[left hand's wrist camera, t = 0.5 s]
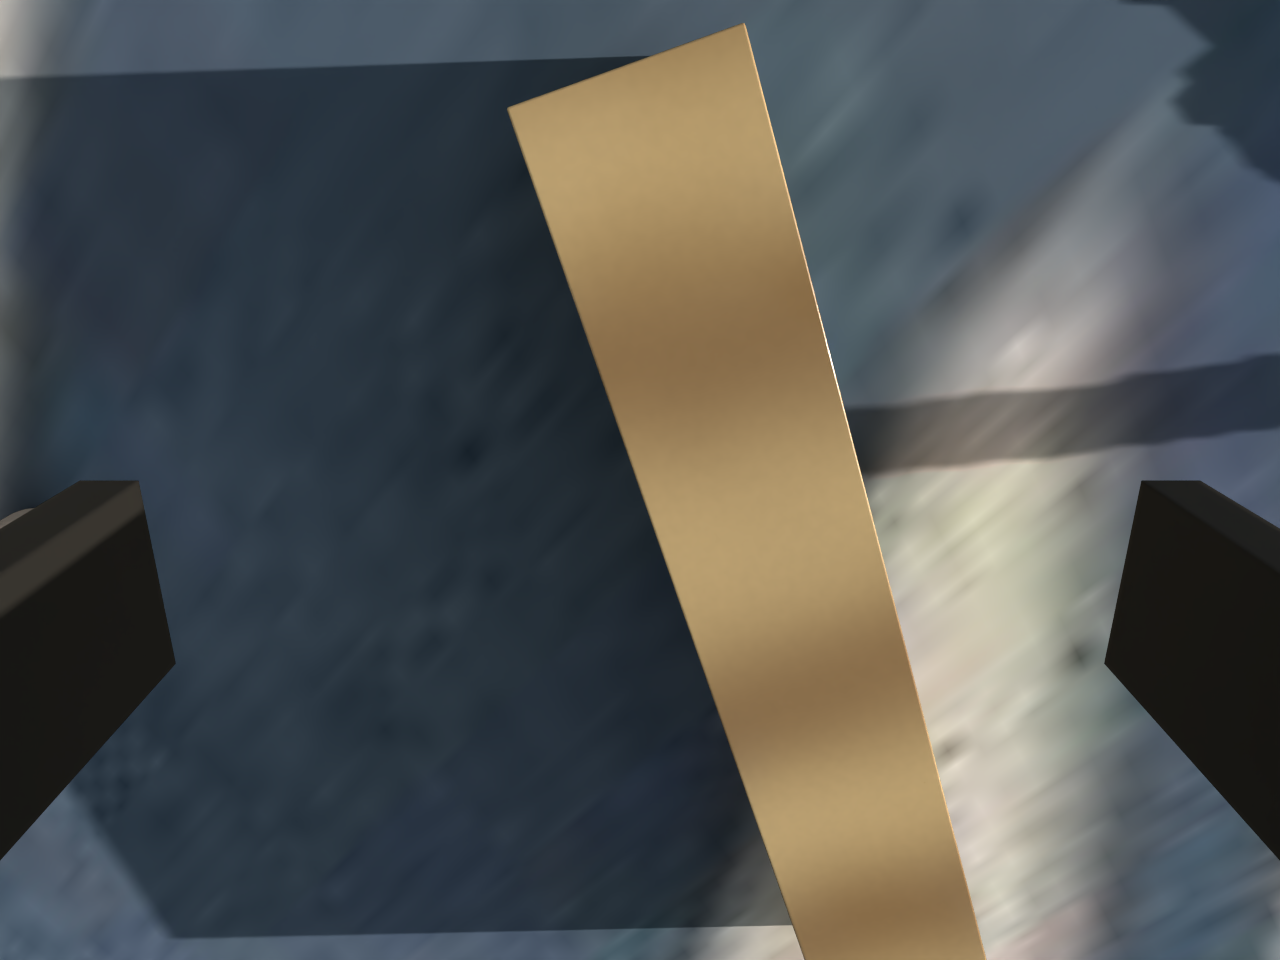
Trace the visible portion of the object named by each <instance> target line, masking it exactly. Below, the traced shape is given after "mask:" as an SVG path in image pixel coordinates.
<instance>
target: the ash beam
mask: <svg viewBox="0 0 1280 960" xmlns="http://www.w3.org/2000/svg"><path fill="white" fill-rule="evenodd" d="M507 111H508V114H509V117H510V119H511V122H512V125H513V128H514V131H515V134H516V137H517V139H518V142H519V145H520V148H521V151H522V154H523V157H524V159H525V162H526V165H527V168H528V171H529V174H530V177H531V179H532V182H533V185H534V188H535V191H536V194H537V197H538V199H539V202H540V205H541V208H542V211H543V214H544V217H545V219H546V222H547V225H548V228H549V231H550V234H551V237H552V239H553V242H554V245H555V248H556V251H557V254H558V257H559V259H560V262H561V265H562V268H563V271H564V274H565V277H566V279H567V282H568V285H569V288H570V291H571V294H572V297H573V299H574V302H575V305H576V308H577V311H578V314H579V317H580V319H581V322H582V325H583V328H584V331H585V334H586V337H587V339H588V342H589V345H590V348H591V351H592V354H593V357H594V359H595V362H596V365H597V368H598V371H599V374H600V377H601V379H602V382H603V385H604V388H605V391H606V394H607V397H608V399H609V402H610V405H611V408H612V411H613V414H614V417H615V419H616V422H617V425H618V428H619V431H620V434H621V437H622V439H623V442H624V445H625V448H626V451H627V454H628V457H629V459H630V462H631V465H632V468H633V471H634V474H635V477H636V479H637V482H638V485H639V488H640V491H641V494H642V497H643V499H644V502H645V505H646V508H647V511H648V514H649V517H650V519H651V522H652V525H653V528H654V531H655V534H656V537H657V539H658V542H659V545H660V548H661V551H662V554H663V557H664V559H665V562H666V565H667V568H668V571H669V574H670V577H671V579H672V582H673V585H674V588H675V591H676V594H677V597H678V599H679V602H680V605H681V608H682V611H683V614H684V617H685V619H686V622H687V625H688V628H689V631H690V634H691V637H692V639H693V642H694V645H695V648H696V651H697V654H698V657H699V659H700V662H701V665H702V668H703V671H704V674H705V677H706V679H707V682H708V685H709V688H710V691H711V694H712V697H713V699H714V702H715V705H716V708H717V711H718V714H719V717H720V719H721V722H722V725H723V728H724V731H725V734H726V737H727V739H728V742H729V745H730V748H731V751H732V754H733V757H734V759H735V762H736V765H737V768H738V771H739V774H740V777H741V779H742V782H743V785H744V788H745V791H746V794H747V797H748V799H749V802H750V805H751V808H752V811H753V814H754V817H755V819H756V822H757V825H758V828H759V831H760V834H761V837H762V839H763V842H764V845H765V848H766V851H767V854H768V857H769V859H770V862H771V865H772V868H773V871H774V874H775V877H776V879H777V882H778V885H779V888H780V891H781V894H782V897H783V899H784V902H785V905H786V908H787V911H788V914H789V917H790V919H791V922H792V925H793V928H794V931H795V934H796V937H797V939H798V942H799V945H800V948H801V951H802V954H803V957H804V959H805V960H986V956H985V952H984V948H983V944H982V940H981V936H980V933H979V929H978V925H977V921H976V917H975V913H974V909H973V905H972V902H971V898H970V894H969V890H968V886H967V882H966V878H965V874H964V871H963V867H962V863H961V859H960V855H959V851H958V847H957V843H956V840H955V836H954V832H953V828H952V824H951V820H950V816H949V812H948V809H947V805H946V801H945V797H944V793H943V789H942V785H941V781H940V778H939V774H938V770H937V766H936V762H935V758H934V754H933V750H932V747H931V743H930V739H929V735H928V731H927V727H926V723H925V719H924V716H923V712H922V708H921V704H920V700H919V696H918V692H917V688H916V685H915V681H914V677H913V673H912V669H911V665H910V661H909V657H908V654H907V650H906V646H905V642H904V638H903V634H902V630H901V626H900V622H899V619H898V615H897V611H896V607H895V603H894V599H893V595H892V591H891V588H890V584H889V580H888V576H887V572H886V568H885V564H884V560H883V557H882V553H881V549H880V545H879V541H878V537H877V533H876V529H875V526H874V522H873V518H872V514H871V510H870V506H869V502H868V498H867V495H866V491H865V487H864V483H863V479H862V475H861V471H860V467H859V464H858V460H857V456H856V452H855V448H854V444H853V440H852V436H851V433H850V429H849V425H848V421H847V417H846V413H845V409H844V405H843V402H842V398H841V394H840V390H839V386H838V382H837V378H836V374H835V371H834V367H833V363H832V359H831V355H830V351H829V347H828V343H827V340H826V336H825V332H824V328H823V324H822V320H821V316H820V312H819V309H818V305H817V301H816V297H815V293H814V289H813V285H812V281H811V277H810V274H809V270H808V266H807V262H806V258H805V254H804V250H803V246H802V243H801V239H800V235H799V231H798V227H797V223H796V219H795V215H794V212H793V208H792V204H791V200H790V196H789V192H788V188H787V184H786V181H785V177H784V173H783V169H782V165H781V161H780V157H779V153H778V150H777V146H776V142H775V138H774V134H773V130H772V126H771V122H770V119H769V115H768V111H767V107H766V103H765V99H764V95H763V91H762V88H761V84H760V80H759V76H758V72H757V68H756V64H755V60H754V57H753V53H752V49H751V45H750V41H749V37H748V33H747V29H746V26H745V24H744V23H741V24H738V25H736V26H733V27H730V28H727V29H725V30H722V31H719V32H716V33H713V34H711V35H708V36H705V37H702V38H699V39H697V40H694V41H691V42H688V43H686V44H683V45H680V46H677V47H674V48H672V49H669V50H666V51H663V52H661V53H658V54H655V55H652V56H649V57H647V58H644V59H641V60H638V61H635V62H633V63H630V64H627V65H624V66H622V67H619V68H616V69H613V70H610V71H608V72H605V73H602V74H599V75H596V76H594V77H591V78H588V79H585V80H583V81H580V82H577V83H574V84H571V85H569V86H566V87H563V88H560V89H557V90H555V91H552V92H549V93H546V94H544V95H541V96H538V97H535V98H532V99H530V100H527V101H524V102H521V103H518V104H516V105H513V106H510V107H508V108H507Z"/></svg>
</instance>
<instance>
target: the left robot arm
mask: <svg viewBox="0 0 1280 960" xmlns="http://www.w3.org/2000/svg"><path fill="white" fill-rule="evenodd" d="M175 664H176V663H175V658H174V653H173V648H172V643H171V638H170V633H169V628H168V623H167V618H166V613H165V609H164V604H163V599H162V594H161V589H160V584H159V579H158V574H157V569H156V564H155V559H154V554H153V550H152V545H151V540H150V535H149V530H148V525H147V520H146V515H145V510H144V505H143V500H142V495H141V491H140V486H139V481H78V482H77V483H75V484H74V485H72V486H70V487H69V488H67V489H65V490H64V491H62V492H60V493H59V494H57V495H55V496H54V497H52V498H50V499H49V500H47V501H45V502H44V503H42V504H40V505H39V506H37V507H35V508H34V509H32V510H30V511H29V512H27V513H25V514H24V515H22V516H20V517H19V518H17V519H15V520H14V521H12V522H11V523H9V524H7V525H6V526H4V527H2V528H1V529H0V860H1V859H2V858H3V857H4V856H5V854H6V853H7V852H8V851H9V850H10V849H11V848H12V847H13V845H14V844H15V843H16V842H17V841H18V840H19V839H20V838H21V836H22V835H23V834H24V833H25V832H26V831H27V830H28V829H29V827H30V826H31V825H32V824H33V823H34V822H35V821H36V820H37V819H38V817H39V816H40V815H41V814H42V813H43V812H44V811H45V810H46V808H47V807H48V806H49V805H50V804H51V803H52V802H53V801H54V799H55V798H56V797H57V796H58V795H59V794H60V793H61V792H62V790H63V789H64V788H65V787H66V786H67V785H68V784H69V783H70V782H71V780H72V779H73V778H74V777H75V776H76V775H77V774H78V773H79V771H80V770H81V769H82V768H83V767H84V766H85V765H86V764H87V762H88V761H89V760H90V759H91V758H92V757H93V756H94V755H95V753H96V752H97V751H98V750H99V749H100V748H101V747H102V746H103V744H104V743H105V742H106V741H107V740H108V739H109V738H110V737H111V736H112V734H113V733H114V732H115V731H116V730H117V729H118V728H119V727H120V725H121V724H122V723H123V722H124V721H125V720H126V719H127V718H128V716H129V715H130V714H131V713H132V712H133V711H134V710H135V709H136V707H137V706H138V705H139V704H140V703H141V702H142V701H143V700H144V699H145V697H146V696H147V695H148V694H149V693H150V692H151V691H152V690H153V688H154V687H155V686H156V685H157V684H158V683H159V682H160V681H161V679H162V678H163V677H164V676H165V675H166V674H167V673H168V672H169V670H170V669H171V668H172V667H173V666H174V665H175ZM1104 664H1105V665H1106V666H1107V667H1108V668H1109V669H1110V670H1111V672H1112V673H1113V674H1114V675H1115V676H1116V677H1117V678H1118V679H1119V681H1120V682H1121V683H1122V684H1123V685H1124V686H1125V687H1126V688H1127V690H1128V691H1129V692H1130V693H1131V694H1132V695H1133V696H1134V697H1135V699H1136V700H1137V701H1138V702H1139V703H1140V704H1141V705H1142V706H1143V707H1144V709H1145V710H1146V711H1147V712H1148V713H1149V714H1150V715H1151V716H1152V718H1153V719H1154V720H1155V721H1156V722H1157V723H1158V724H1159V725H1160V727H1161V728H1162V729H1163V730H1164V731H1165V732H1166V733H1167V734H1168V736H1169V737H1170V738H1171V739H1172V740H1173V741H1174V742H1175V743H1176V744H1177V746H1178V747H1179V748H1180V749H1181V750H1182V751H1183V752H1184V753H1185V755H1186V756H1187V757H1188V758H1189V759H1190V760H1191V761H1192V762H1193V764H1194V765H1195V766H1196V767H1197V768H1198V769H1199V770H1200V771H1201V773H1202V774H1203V775H1204V776H1205V777H1206V778H1207V779H1208V780H1209V782H1210V783H1211V784H1212V785H1213V786H1214V787H1215V788H1216V789H1217V790H1218V792H1219V793H1220V794H1221V795H1222V796H1223V797H1224V798H1225V799H1226V801H1227V802H1228V803H1229V804H1230V805H1231V806H1232V807H1233V808H1234V810H1235V811H1236V812H1237V813H1238V814H1239V815H1240V816H1241V817H1242V819H1243V820H1244V821H1245V822H1246V823H1247V824H1248V825H1249V826H1250V827H1251V829H1252V830H1253V831H1254V832H1255V833H1256V834H1257V835H1258V836H1259V838H1260V839H1261V840H1262V841H1263V842H1264V843H1265V844H1266V845H1267V847H1268V848H1269V849H1270V850H1271V851H1272V852H1273V853H1274V854H1275V856H1276V857H1277V858H1278V859H1279V860H1280V529H1279V528H1278V527H1276V526H1274V525H1273V524H1271V523H1269V522H1268V521H1266V520H1265V519H1263V518H1261V517H1260V516H1258V515H1256V514H1255V513H1253V512H1251V511H1250V510H1248V509H1246V508H1245V507H1243V506H1241V505H1240V504H1238V503H1236V502H1235V501H1233V500H1231V499H1230V498H1228V497H1226V496H1225V495H1223V494H1221V493H1220V492H1218V491H1216V490H1215V489H1213V488H1211V487H1210V486H1208V485H1206V484H1205V483H1203V482H1202V481H1141V486H1140V491H1139V495H1138V500H1137V505H1136V510H1135V515H1134V520H1133V525H1132V530H1131V535H1130V540H1129V545H1128V550H1127V554H1126V559H1125V564H1124V569H1123V574H1122V579H1121V584H1120V589H1119V594H1118V599H1117V604H1116V609H1115V613H1114V618H1113V623H1112V628H1111V633H1110V638H1109V643H1108V648H1107V653H1106V658H1105V663H1104Z"/></svg>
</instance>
